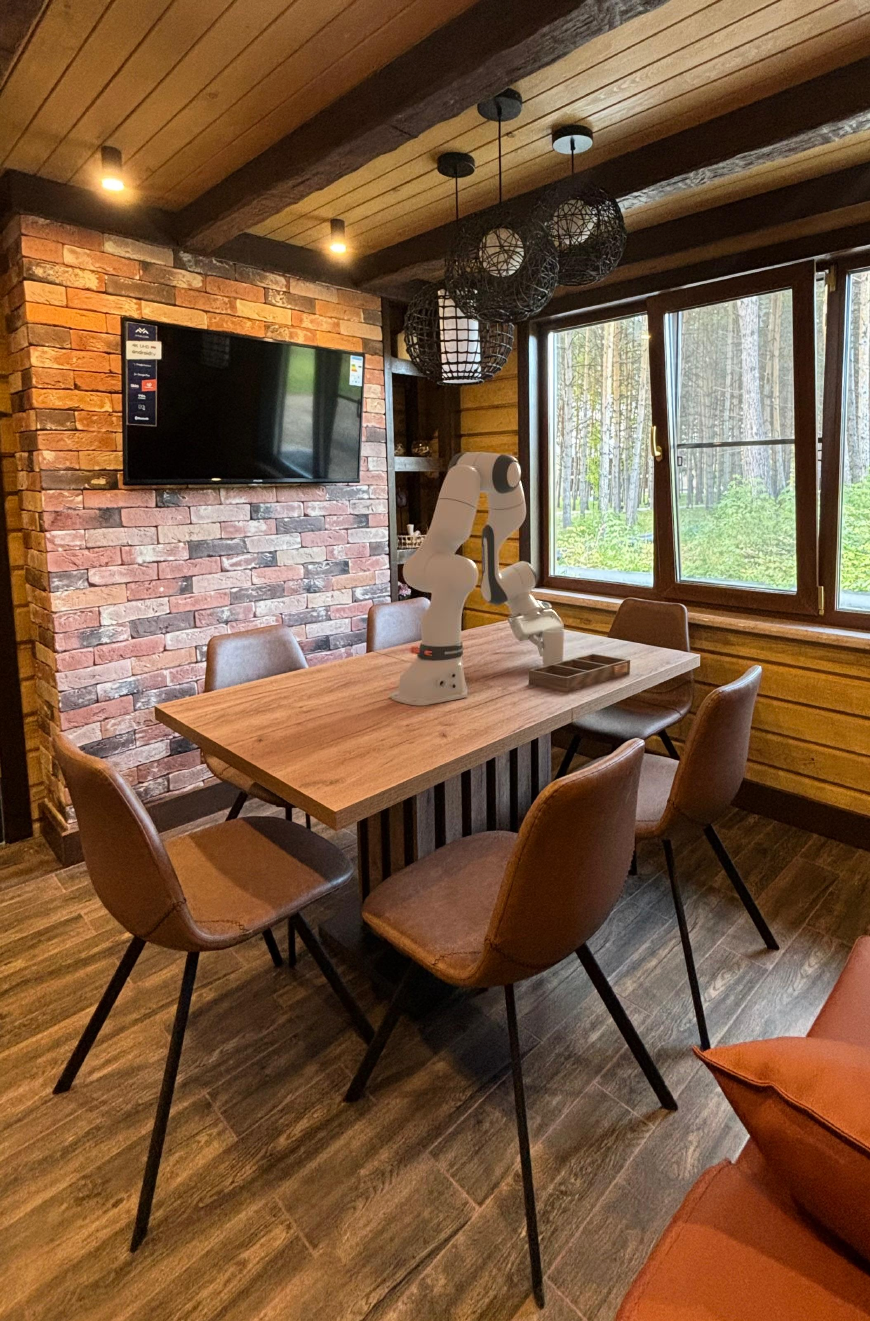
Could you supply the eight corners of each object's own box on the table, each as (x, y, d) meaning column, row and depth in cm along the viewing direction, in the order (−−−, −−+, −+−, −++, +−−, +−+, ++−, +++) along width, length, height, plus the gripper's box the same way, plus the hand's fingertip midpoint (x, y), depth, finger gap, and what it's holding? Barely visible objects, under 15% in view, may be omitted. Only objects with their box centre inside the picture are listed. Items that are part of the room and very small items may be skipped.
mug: (568, 667, 236) (568, 630, 234) (553, 670, 232) (553, 633, 230) (545, 662, 244) (545, 626, 241) (530, 665, 240) (530, 629, 237)
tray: (568, 693, 206) (568, 678, 206) (528, 684, 217) (528, 670, 216) (631, 673, 226) (631, 660, 225) (592, 666, 237) (592, 653, 236)
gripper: (510, 609, 232) (534, 644, 227) (552, 602, 245) (576, 635, 240) (500, 622, 237) (523, 656, 231) (542, 614, 250) (565, 646, 245)
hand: (550, 645), depth 236 cm, fingers closed on mug, 6 cm apart
